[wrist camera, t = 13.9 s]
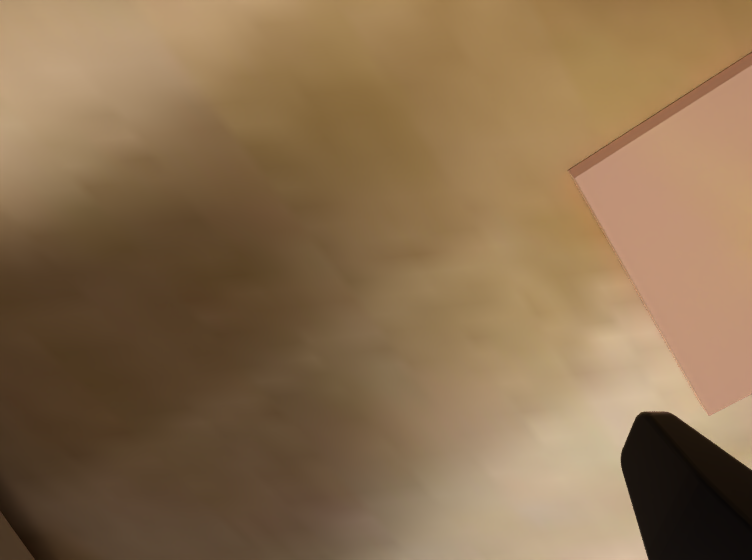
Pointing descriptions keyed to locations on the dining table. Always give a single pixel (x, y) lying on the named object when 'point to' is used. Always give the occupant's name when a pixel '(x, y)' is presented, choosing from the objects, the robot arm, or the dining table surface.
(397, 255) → the dining table surface
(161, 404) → the dining table surface
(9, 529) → the photo frame
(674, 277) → the terracotta tile
